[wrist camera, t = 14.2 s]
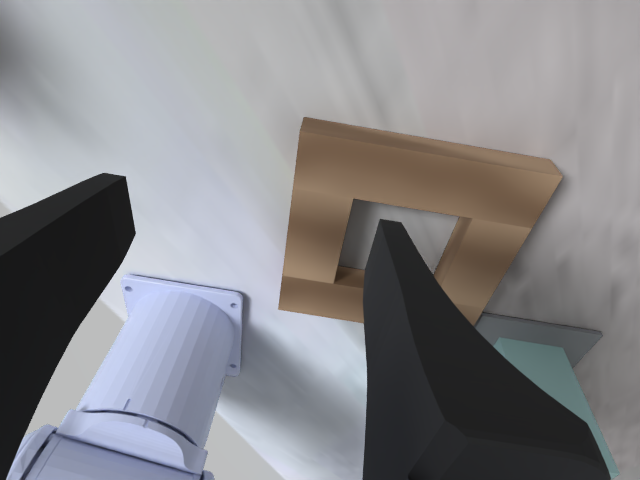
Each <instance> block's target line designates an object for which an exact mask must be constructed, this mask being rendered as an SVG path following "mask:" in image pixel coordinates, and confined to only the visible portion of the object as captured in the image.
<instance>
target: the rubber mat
mask: <svg viewBox="0 0 640 480" xmlns="http://www.w3.org/2000/svg"><path fill="white" fill-rule="evenodd" d="M474 328H475V329H476V330H477V331H478V332H479V333H480V334H481V335H482V336H483V337H484V338H485V339H486V340H487V341H488V342H489V343H490V344H491V345H492V346H494V344H495V343H496V341H497V340H498V339H499V337H501V338H507V339H513V340H519V341H525V342H531V343H537V344H543V345H549V346H556V347H562V348H563V349H564V351H565V354H566V356H567V358H568V360H569V362H570V365H571V367H572V368H573V367H574V366H575V365H576V364H577V363H578V362H579V361H580V360H581V359H582V358H583V356H584V355H585V354H586V353H587V352H588V351H589V350H590V349H591V348H592V347H593V346H594V345H595V344H596V342H597V341H598V340H599V339H600V338H601V337H602V336H603V335H602V333H601V332H599V331H593V330H587V329H581V328H575V327H569V326H562V325H556V324H550V323H544V322H538V321H531V320H525V319H519V318H513V317H507V316H501V315H494V314H488V313H481V315H480V316H479V318H478V320H477V321H476V323H475V325H474Z"/></svg>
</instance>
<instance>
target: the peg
mask: <svg viewBox="0 0 640 480" xmlns="http://www.w3.org/2000/svg"><path fill="white" fill-rule="evenodd" d="M493 347H494V348H495V349H496V350H497V351H498V352H499V353H500V354H501V355H502V356H504V357H505V358H506V359H507V360H508V361H509V362H510V363H511V364H512V365H514V366H515V367H516V368H517V369H518V370H519V371H520V372H522V373H523V374H524V375H525V376H526V377H528V378H529V379H530V380H531V381H532V382H534V383H535V384H536V385H537V386H538V387H540V388H541V389H542V390H543V391H545V392H546V393H547V394H549V395H550V396H551V397H553V398H554V399H555V400H557V401H558V402H559V403H561V404H562V405H563V406H565V407H566V408H567V409H569V410H570V411H572V412H573V413H574V414H576V415H577V416H578V417H580V418H581V419H582V420H584V421H585V422H586V423H588V426H589V428H590V430H591V431H592V434H593V436H594V438H595V440H596V442H597V444H598V447H599V449H600V451H601V454H602V456H603V458H604V461H605V463H606V465H607V468H608V470H609V473H610V477H611V480H612V479H613V478H615V477H616V476H618V475H619V474H620V473H619V471H618V469H617V466H616V464H615V462H614V460H613V458H612V455H611V453H610V451H609V449H608V446H607V444H606V442H605V440H604V438H603V435H602V433H601V431H600V429H599V427H598V424H597V422H596V420H595V418H594V416H593V413H592V411H591V409H590V407H589V404H588V402H587V400H586V398H585V396H584V393H583V391H582V389H581V387H580V385H579V382H578V380H577V378H576V376H575V374H574V371H573V369H572V367H571V365H570V362H569V360H568V358H567V356H566V354H565V351H564V349H563V348H562V347H556V346H549V345H543V344H537V343H531V342H525V341H519V340H513V339H507V338H501V337H499V339H498V340H497V341H496V343H495V344H494V346H493Z"/></svg>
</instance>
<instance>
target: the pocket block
mask: <svg viewBox="0 0 640 480" xmlns="http://www.w3.org/2000/svg"><path fill="white" fill-rule="evenodd" d="M562 177H563V176H562V175H561V173H560V172H559V170H558V169H557V168H556V166H555V165H554V164H553V162H552V161H551V160H550V159H544V158H538V157H532V156H527V155H521V154H515V153H509V152H503V151H498V150H492V149H486V148H480V147H475V146H469V145H463V144H457V143H451V142H446V141H440V140H434V139H428V138H423V137H417V136H411V135H405V134H399V133H394V132H388V131H382V130H376V129H370V128H365V127H359V126H353V125H347V124H342V123H336V122H330V121H324V120H318V119H313V118H307V117H304V118H303V122H302V125H301V129H300V134H299V142H298V151H297V159H296V167H295V175H294V184H293V192H292V200H291V208H290V217H289V225H288V233H287V241H286V249H285V258H284V266H283V274H282V282H281V291H280V299H279V307H278V310H284V311H290V312H297V313H303V314H309V315H315V316H322V317H328V318H334V319H340V320H347V321H353V322H359V323H364V314H363V288H364V273H365V270H361V269H355V268H348V267H342V266H338V262H339V258H340V253H341V249H342V245H343V241H344V236H345V232H346V228H347V224H348V219H349V215H350V211H351V207H352V202H353V199H359V200H365V201H371V202H377V203H383V204H389V205H395V206H401V207H407V208H413V209H419V210H425V211H431V212H437V213H443V214H449V215H455V216H460V217H459V219H458V221H457V223H456V226H455V228H454V230H453V232H452V235H451V237H450V239H449V241H448V244H447V246H446V248H445V250H444V253H443V255H442V257H441V259H440V262H439V264H438V266H437V268H436V271H435V273H434V275H433V276H434V277H435V279H436V280H437V282H438V283H439V285H440V286H441V287H442V289H443V290H444V291H445V293H446V294H447V295H448V297H449V298H450V299H451V301H452V302H453V303H454V304H455V306H456V307H457V308H458V309H459V311H460V312H461V313H462V314H463V315H464V316H465V317H466V318H467V320H468V321H469V322H470V323H471V324H472V325H473V326H474V325H475V323H476V321H477V320H478V318H479V316H480V315H481V313H482V311H483V310H484V308H485V306H486V305H487V303H488V301H489V300H490V298H491V296H492V295H493V293H494V291H495V290H496V288H497V286H498V284H499V283H500V281H501V279H502V278H503V276H504V274H505V273H506V271H507V269H508V268H509V266H510V264H511V263H512V261H513V259H514V258H515V256H516V254H517V253H518V251H519V249H520V248H521V246H522V244H523V243H524V241H525V239H526V238H527V236H528V234H529V233H530V231H531V229H532V228H533V226H534V224H535V222H536V221H537V219H538V217H539V216H540V214H541V212H542V211H543V209H544V207H545V206H546V204H547V202H548V201H549V199H550V197H551V196H552V194H553V192H554V191H555V189H556V187H557V186H558V184H559V182H560V181H561V179H562Z"/></svg>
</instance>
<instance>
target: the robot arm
mask: <svg viewBox="0 0 640 480" xmlns="http://www.w3.org/2000/svg"><path fill="white" fill-rule="evenodd" d="M135 234H136V232H135V227H134V221H133V215H132V210H131V204H130V198H129V193H128V187H127V181H126V176H120V175H114V174H108V173H102V174H99V175H97V176H94V177H92V178H89V179H87V180H85V181H83V182H80V183H78V184H76V185H74V186H72V187H69V188H67V189H65V190H63V191H61V192H59V193H56V194H54V195H52V196H50V197H48V198H46V199H43V200H41V201H39V202H37V203H35V204H32V205H30V206H28V207H25V208H23V209H21V210H18V211H16V212H13V213H11V214H9V215H6V216H4V217H1V218H0V480H214V476H213V474H212V473H211V472H210V471H206V470H203V468H204V464H205V460H206V457H207V454H208V451H207V450H204V449H203V448H204V446H205V444H206V441H207V437H208V434H209V431H210V427H211V424H212V421H213V417H214V414H215V410H216V407H217V403H218V400H219V397H220V393H221V390H222V386H223V383H224V380H225V376H233V377H235V376H238V375H239V373H240V362H241V336H242V311H243V296H242V295H241V294H240V293H238V292H234V291H228V290H222V289H215V288H209V287H203V286H197V285H190V284H184V283H178V282H172V281H166V280H159V279H153V278H147V277H141V276H134V275H124V276H123V277H122V279H121V287H122V291H123V295H124V300H125V304H126V308H127V313H128V319H127V321H126V322H125V324H124V326H123V328H122V329H121V331H120V333H119V335H118V336H117V338H116V340H115V342H114V343H113V345H112V347H111V348H110V350H109V352H108V354H107V356H106V357H105V359H104V361H103V362H102V364H101V366H100V368H99V369H98V371H97V373H96V375H95V376H94V378H93V380H92V382H91V384H90V385H89V387H88V389H87V391H86V392H85V394H84V396H83V397H82V399H81V401H80V403H79V404H78V406H77V408H76V410H72V409H70V410H69V411H68V412H67V414H66V415H65V417H64V419H63V421H62V422H61V424H60V426H59V427H58V428H57V427H54V426H51V425H49V424H48V425H44V426H42V427H41V428H39V429H38V430H35V431H33V432H31V433H29V434H27V435H26V436H25V437H24V435H25V432H26V430H27V428H28V426H29V423H30V421H31V419H32V417H33V415H34V413H35V410H36V408H37V405H38V404H39V402H40V399H41V397H42V395H43V393H44V391H45V389H46V387H47V385H48V383H49V381H50V379H51V377H52V375H53V373H54V371H55V368H56V367H57V365H58V363H59V361H60V359H61V358H62V356H63V354H64V352H65V350H66V348H67V346H68V344H69V342H70V341H71V338H72V337H73V335H74V334H75V332H76V331H77V329H78V327H79V325H80V324H81V323H82V321H83V320H84V318H85V317H86V315H87V314H88V312H89V311H90V309H91V308H92V307H93V305H94V304H95V302H96V300H97V299H98V298H99V296H100V295H101V293H102V292H103V290H104V289H105V288H106V286H107V285H108V283H109V282H110V280H111V279H112V277H113V276H114V274H115V273H116V271H117V270H118V268H119V267H120V265H121V263H122V262H123V260H124V258H125V256H126V254H127V252H128V250H129V248H130V245H131V243H132V241H133V239H134V236H135ZM234 303H235V304H234ZM363 314H364V330H365V345H366V360H367V408H366V430H365V450H364V466H363V480H611V477H610V473H609V470H608V468H607V465H606V463H605V461H604V458H603V456H602V454H601V451H600V449H599V447H598V444H597V442H596V440H595V438H594V436H593V434H592V431H591V430H590V428H589V426H588V423H586V422H585V421H584V420H582V419H581V418H580V417H578V416H577V415H576V414H574V413H573V412H572V411H570V410H569V409H567V408H566V407H565V406H563V405H562V404H561V403H559V402H558V401H557V400H555V399H554V398H553V397H551V396H550V395H549V394H547V393H546V392H545V391H543V390H542V389H541V388H540V387H538V386H537V385H536V384H535V383H534V382H532V381H531V380H530V379H529V378H528V377H526V376H525V375H524V374H523V373H522V372H520V371H519V370H518V369H517V368H516V367H515V366H514V365H512V364H511V363H510V362H509V361H508V360H507V359H506V358H505V357H504V356H502V355H501V354H500V353H499V352H498V351H497V350H496V349H495V348H494V347H493V346H492V345H491V344H490V343H489V342H488V341H487V340H486V339H485V338H484V337H483V336H482V335H481V334H480V333H479V332H478V331H477V330H476V329H475V328H474V326H473V325H472V324H471V323H470V322H469V321H468V320H467V318H466V317H465V316H464V315H463V314H462V313H461V312H460V311H459V309H458V308H457V307H456V306H455V304H454V303H453V302H452V301H451V299H450V298H449V297H448V295H447V294H446V293H445V291H444V290H443V289H442V287H441V286H440V285H439V283H438V282H437V280H436V279H435V277H434V276H433V274H432V273H431V271H430V270H429V268H428V267H427V265H426V263H425V262H424V260H423V259H422V257H421V255H420V254H419V252H418V250H417V249H416V247H415V245H414V243H413V242H412V240H411V238H410V236H409V235H408V233H407V231H406V229H405V228H404V226H403V224H402V223H401V222H395V221H389V220H383V219H380V221H379V224H378V228H377V231H376V234H375V238H374V241H373V244H372V248H371V251H370V255H369V258H368V261H367V265H366V268H365V273H364V288H363ZM23 437H24V438H23Z"/></svg>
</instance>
